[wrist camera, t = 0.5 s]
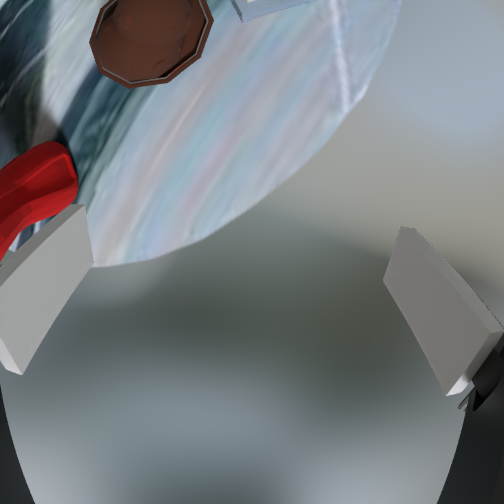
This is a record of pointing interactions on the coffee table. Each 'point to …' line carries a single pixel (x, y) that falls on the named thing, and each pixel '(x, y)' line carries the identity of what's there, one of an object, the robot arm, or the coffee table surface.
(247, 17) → the base plinth
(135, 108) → the coffee table surface
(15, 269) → the robot arm
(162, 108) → the coffee table surface
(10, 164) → the water bottle
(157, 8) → the ice cream bowl
